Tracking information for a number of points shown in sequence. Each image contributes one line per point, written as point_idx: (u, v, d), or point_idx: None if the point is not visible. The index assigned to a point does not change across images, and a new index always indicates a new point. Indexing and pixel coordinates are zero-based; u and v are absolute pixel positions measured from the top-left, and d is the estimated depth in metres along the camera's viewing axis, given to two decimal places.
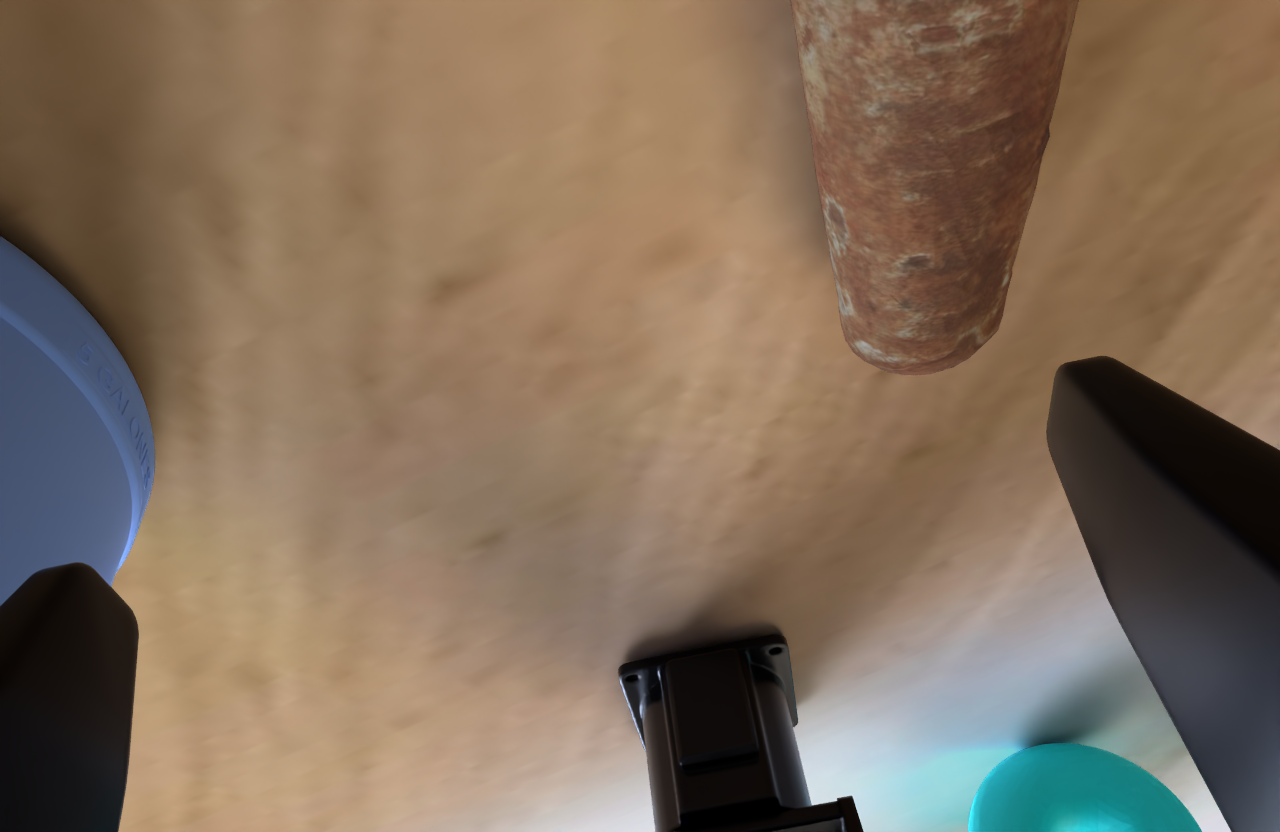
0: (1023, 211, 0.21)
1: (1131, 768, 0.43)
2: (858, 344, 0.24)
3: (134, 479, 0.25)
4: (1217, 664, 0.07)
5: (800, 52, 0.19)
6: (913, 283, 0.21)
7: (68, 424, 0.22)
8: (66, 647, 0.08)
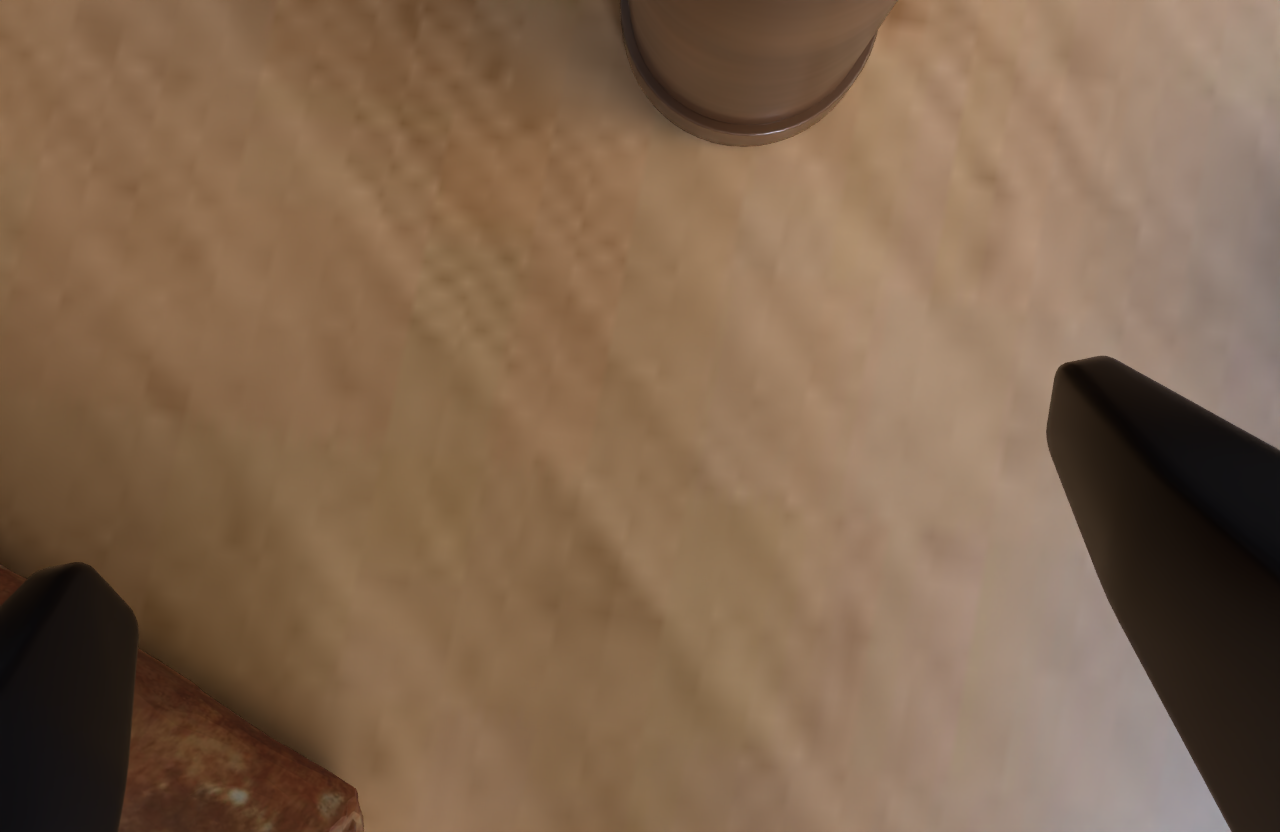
0: (145, 748, 0.19)
1: None
2: None
3: None
4: (1218, 664, 0.07)
5: None
6: None
7: None
8: (65, 647, 0.08)
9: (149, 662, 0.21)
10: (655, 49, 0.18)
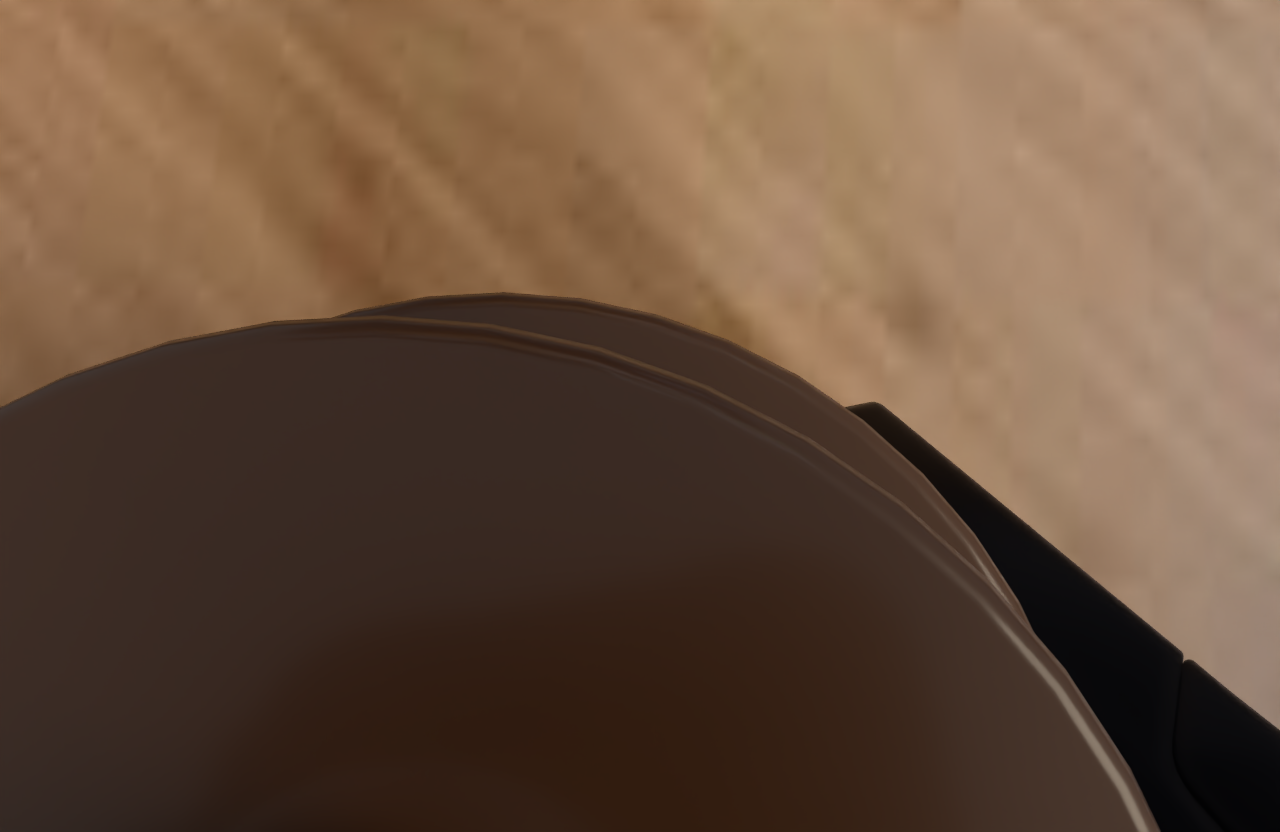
0: None
1: None
2: None
3: None
4: None
5: None
6: None
7: None
8: None
9: None
10: None
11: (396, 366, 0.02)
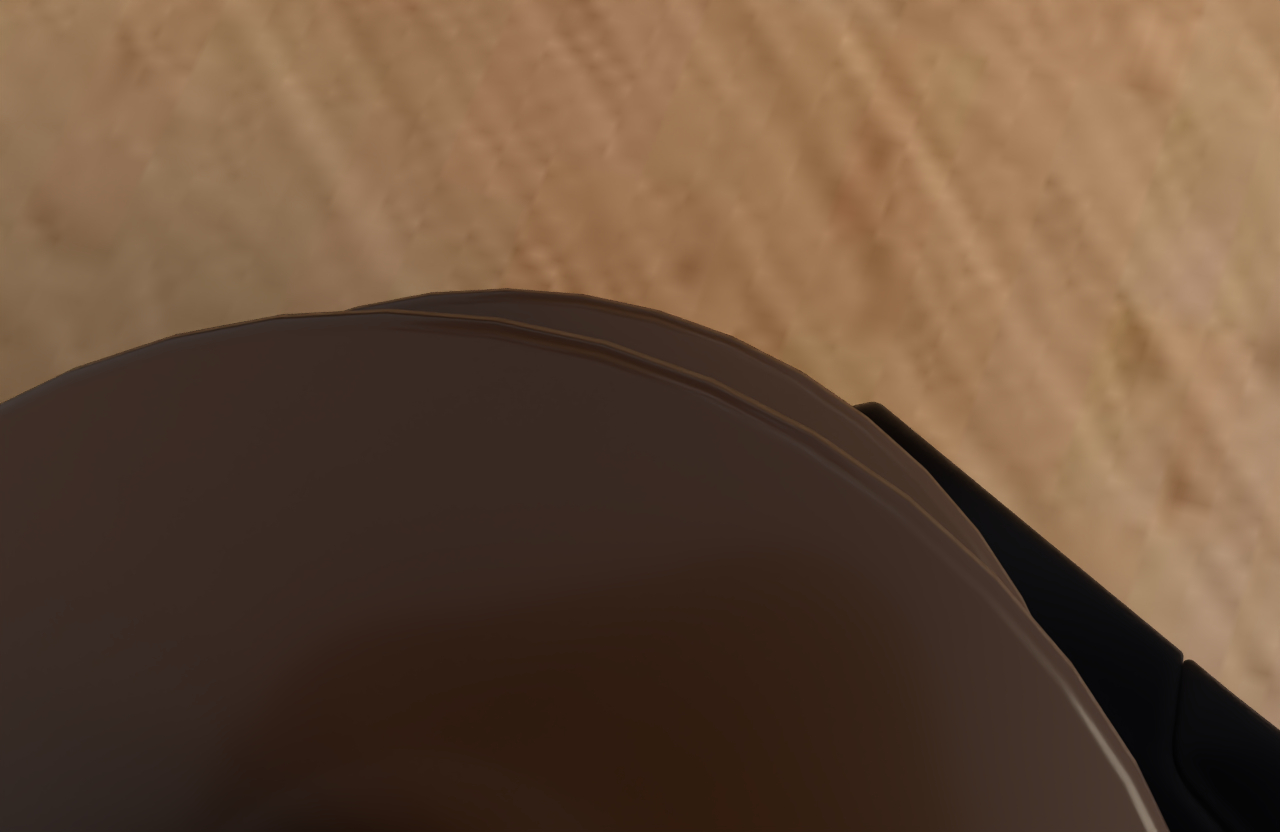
0: None
1: None
2: None
3: None
4: None
5: None
6: None
7: None
8: None
9: None
10: None
11: (401, 359, 0.02)
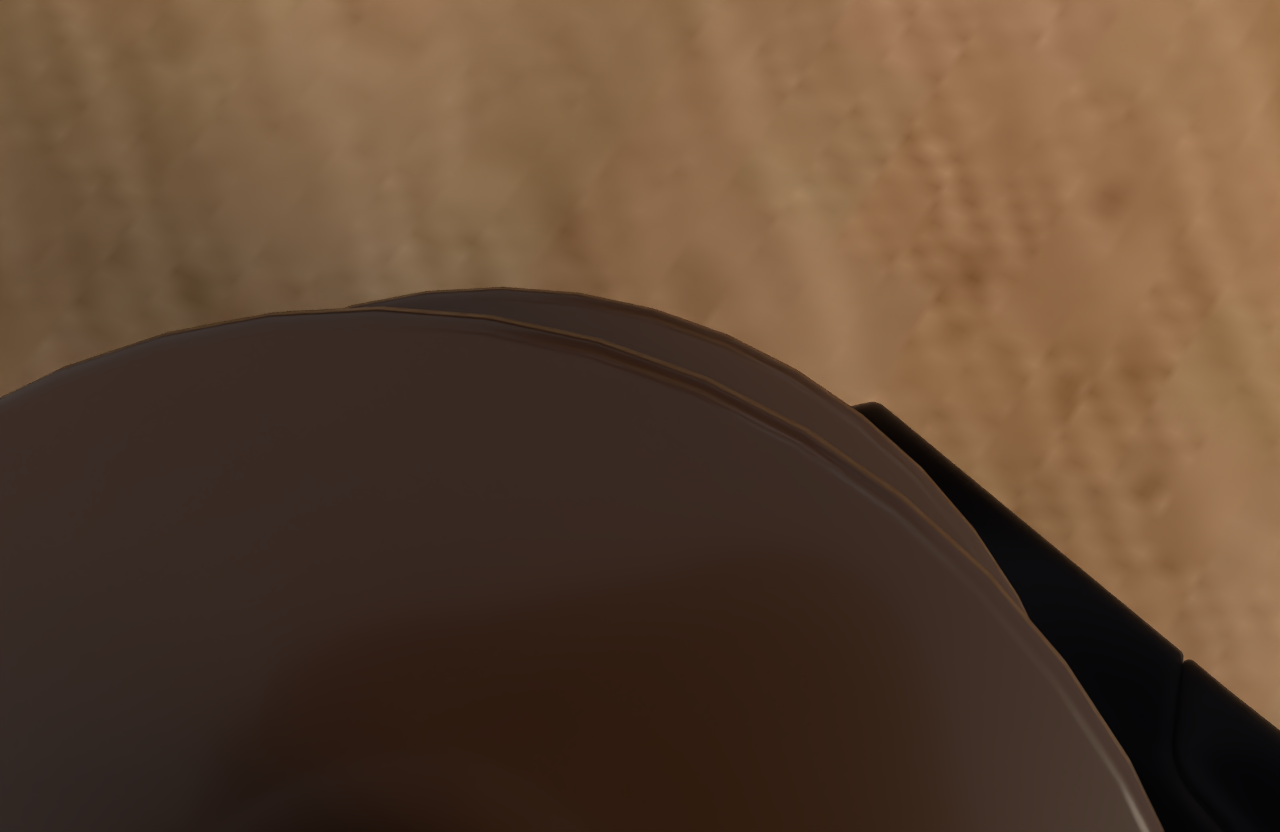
0: None
1: None
2: None
3: None
4: None
5: None
6: None
7: None
8: None
9: None
10: None
11: (393, 357, 0.02)
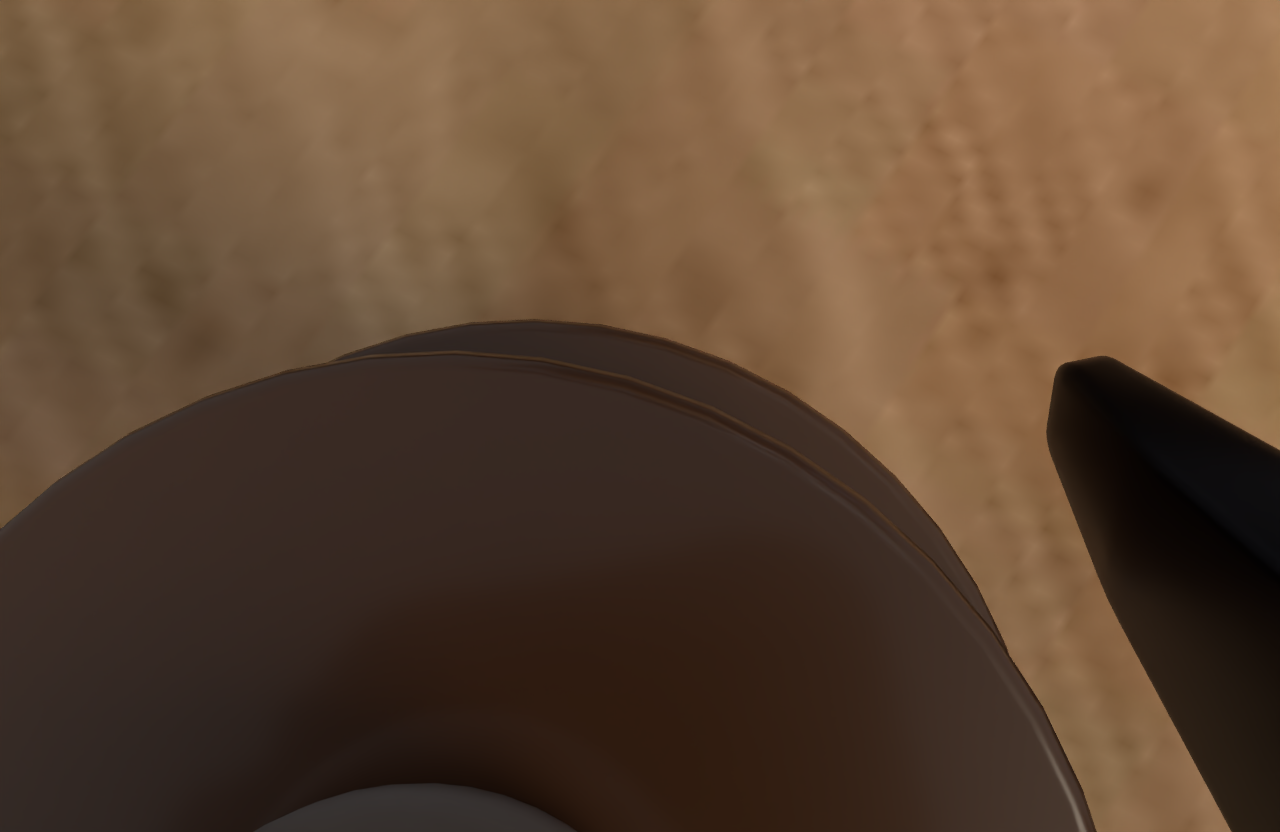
0: None
1: None
2: None
3: None
4: (1217, 664, 0.07)
5: None
6: None
7: None
8: None
9: None
10: None
11: (467, 391, 0.03)
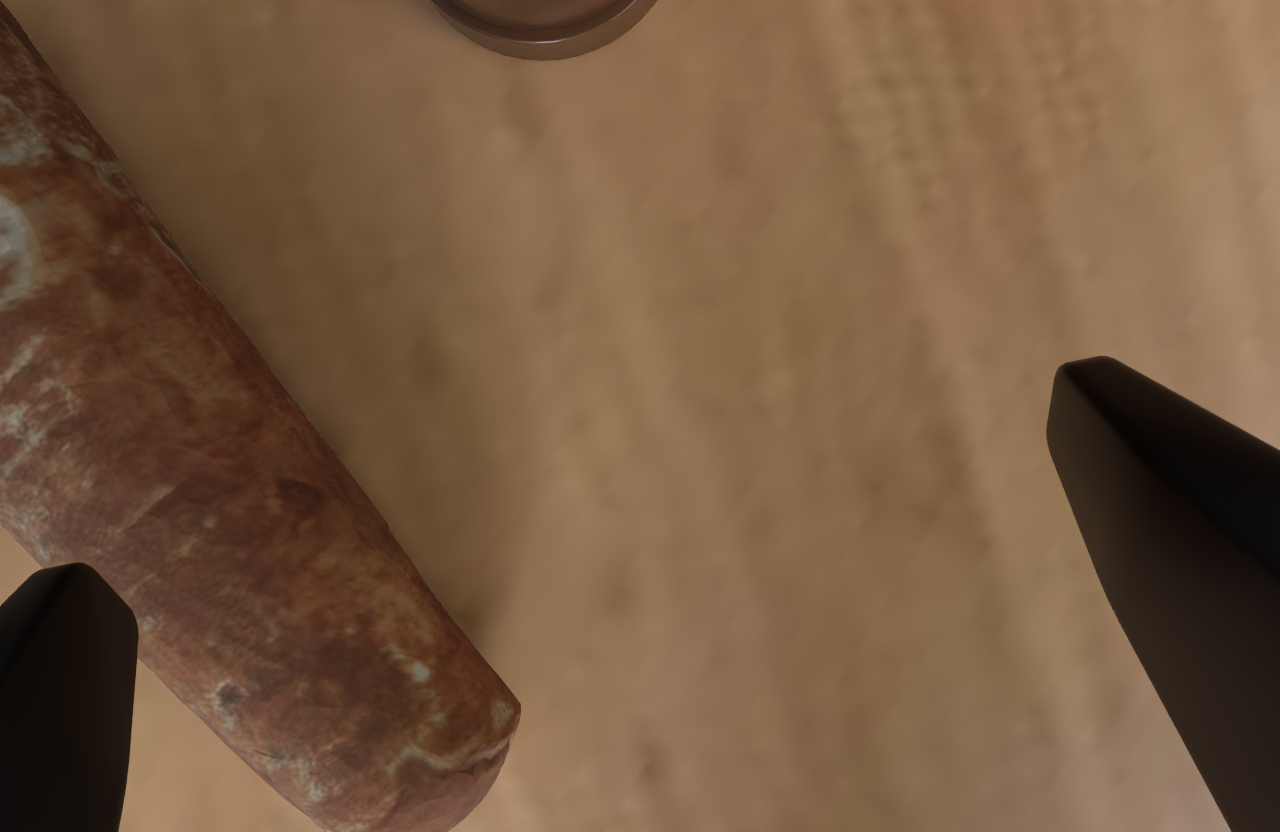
0: (343, 582, 0.16)
1: None
2: None
3: None
4: (1217, 664, 0.07)
5: None
6: (253, 723, 0.16)
7: None
8: (66, 647, 0.08)
9: (354, 484, 0.18)
10: None
11: None
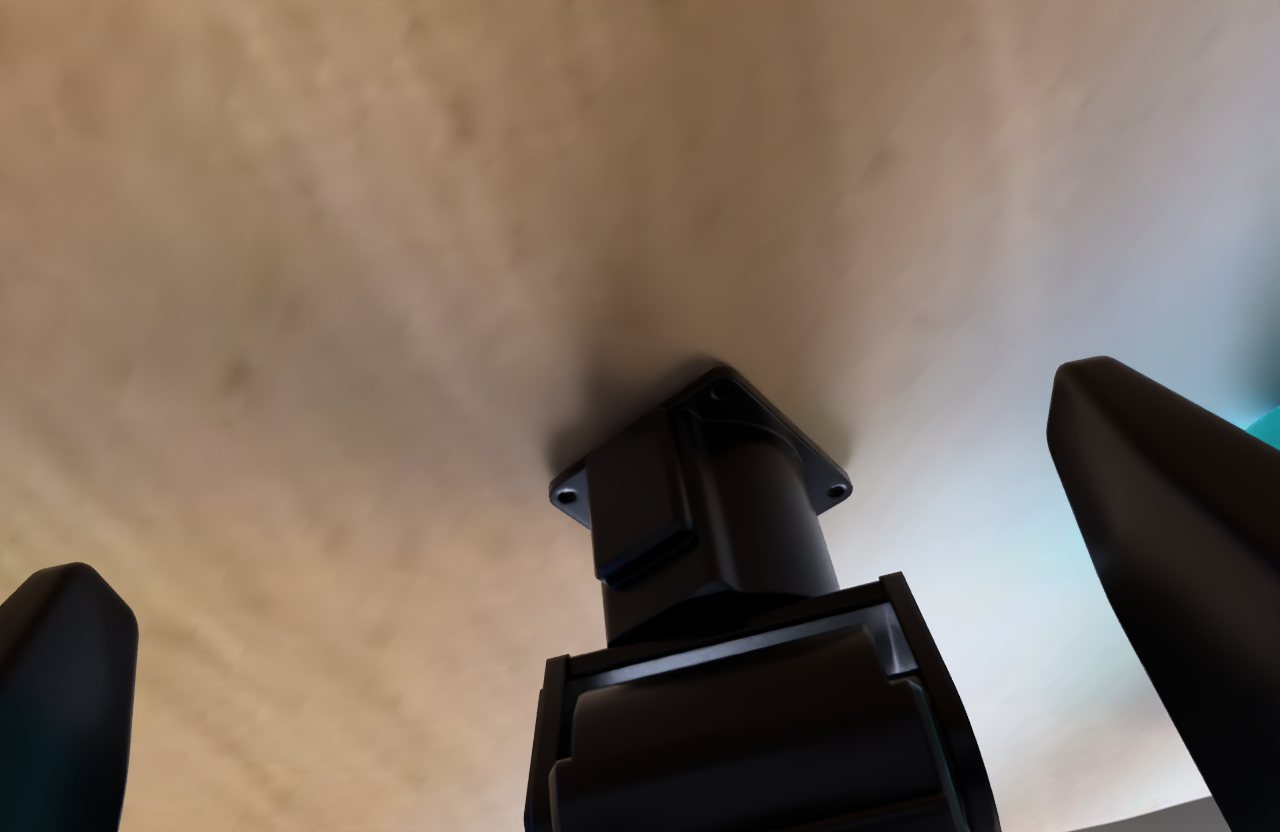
0: None
1: None
2: None
3: None
4: (1217, 664, 0.07)
5: None
6: None
7: None
8: (66, 647, 0.08)
9: None
10: None
11: None
